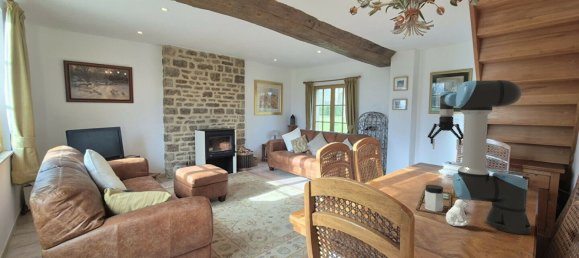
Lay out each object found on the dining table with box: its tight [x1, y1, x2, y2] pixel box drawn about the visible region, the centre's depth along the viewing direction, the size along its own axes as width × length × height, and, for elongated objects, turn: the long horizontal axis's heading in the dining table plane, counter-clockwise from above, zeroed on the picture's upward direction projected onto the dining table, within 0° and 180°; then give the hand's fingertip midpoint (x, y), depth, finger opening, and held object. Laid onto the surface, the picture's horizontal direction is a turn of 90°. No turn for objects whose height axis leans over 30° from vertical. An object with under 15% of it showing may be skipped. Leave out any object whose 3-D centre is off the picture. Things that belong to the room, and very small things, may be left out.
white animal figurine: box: [445, 198, 471, 227], centre depth 112 cm, size 6×8×12 cm
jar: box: [424, 184, 444, 213], centre depth 132 cm, size 9×8×12 cm
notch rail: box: [415, 186, 456, 217], centre depth 143 cm, size 43×17×6 cm, turn 147°
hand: (445, 149), depth 161 cm, fingers open, 13 cm apart
